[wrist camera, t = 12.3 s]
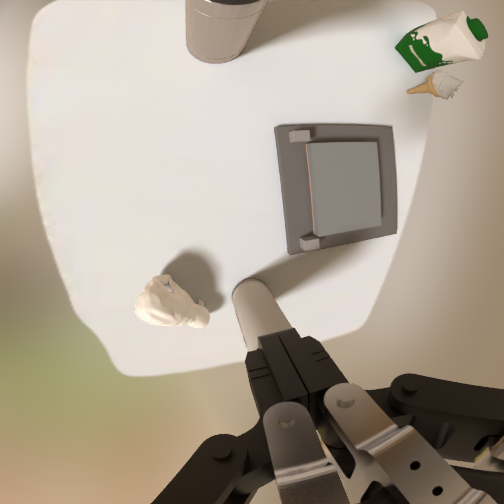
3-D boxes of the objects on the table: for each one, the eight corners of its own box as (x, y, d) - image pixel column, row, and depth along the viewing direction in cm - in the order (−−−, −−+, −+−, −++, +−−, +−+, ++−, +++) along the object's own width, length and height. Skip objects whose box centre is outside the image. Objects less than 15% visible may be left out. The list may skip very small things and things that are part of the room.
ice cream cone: (395, 97, 40) (453, 85, 26) (398, 74, 39) (453, 59, 25) (415, 109, 42) (472, 103, 28) (417, 87, 40) (471, 77, 26)
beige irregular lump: (148, 287, 33) (225, 325, 38) (151, 262, 40) (215, 296, 45) (128, 323, 33) (202, 355, 38) (133, 293, 41) (195, 323, 46)
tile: (310, 143, 36) (376, 142, 38) (305, 144, 38) (369, 142, 40) (318, 236, 41) (381, 225, 43) (313, 233, 43) (374, 223, 44)
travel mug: (276, 285, 46) (326, 358, 27) (256, 316, 47) (293, 399, 28) (244, 270, 44) (281, 343, 25) (224, 303, 45) (247, 388, 26)
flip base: (273, 127, 38) (280, 124, 35) (387, 127, 42) (399, 126, 38) (287, 252, 45) (294, 259, 41) (392, 232, 48) (403, 236, 45)
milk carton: (429, 59, 39) (496, 44, 20) (416, 78, 40) (490, 63, 21) (404, 29, 36) (469, 4, 17) (389, 46, 37) (461, 18, 18)
